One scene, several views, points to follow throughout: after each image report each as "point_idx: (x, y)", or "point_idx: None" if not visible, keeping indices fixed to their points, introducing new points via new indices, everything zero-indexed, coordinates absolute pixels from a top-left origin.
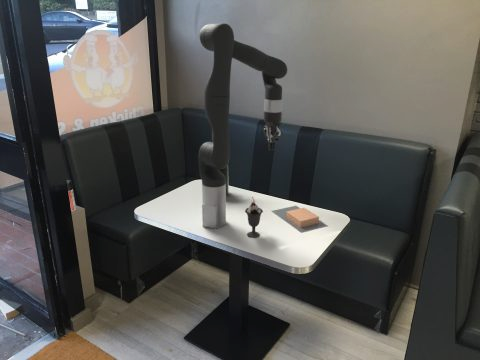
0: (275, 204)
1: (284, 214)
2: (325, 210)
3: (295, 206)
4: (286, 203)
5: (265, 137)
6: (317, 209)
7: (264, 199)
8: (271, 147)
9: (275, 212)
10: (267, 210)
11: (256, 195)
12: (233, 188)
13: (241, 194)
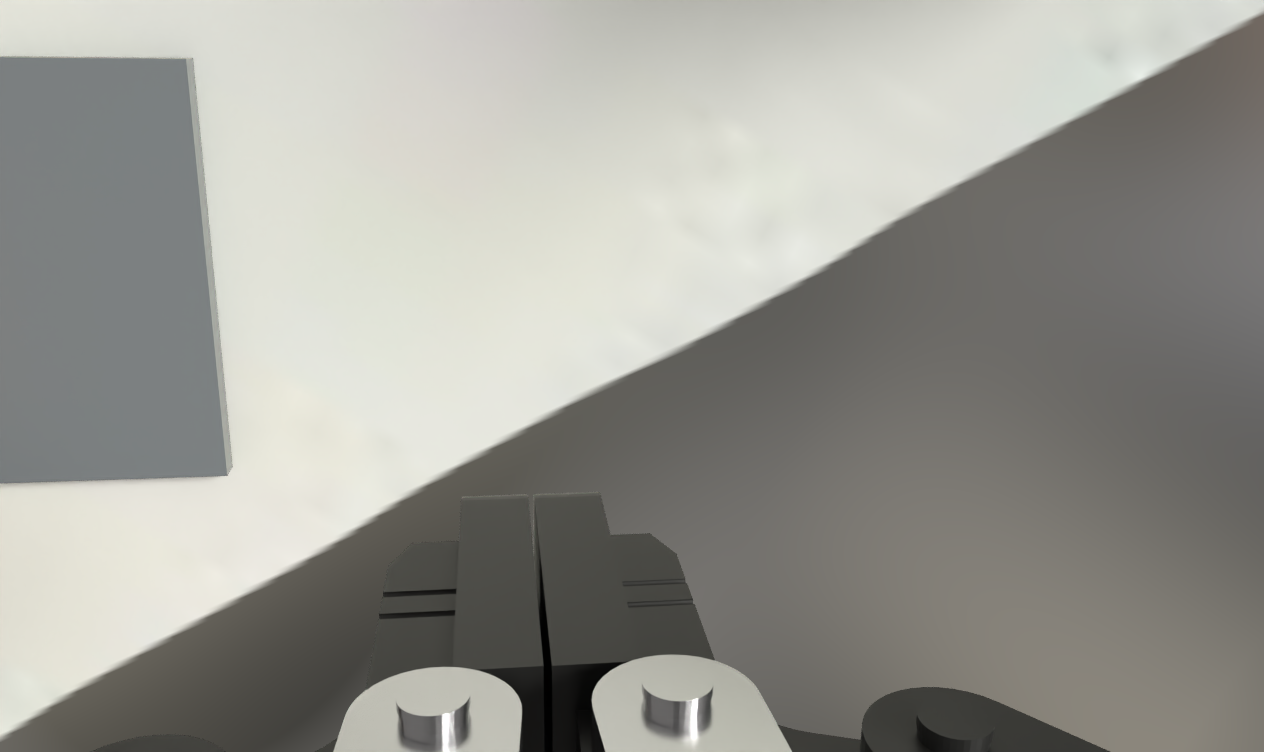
0: (428, 269)
1: (4, 172)
2: (2, 732)
3: (202, 452)
4: (395, 419)
5: (1036, 727)
6: (66, 665)
7: (649, 220)
8: (415, 585)
9: (112, 89)
10: (287, 54)
11: (825, 190)
12: (1219, 11)
13: (967, 5)
